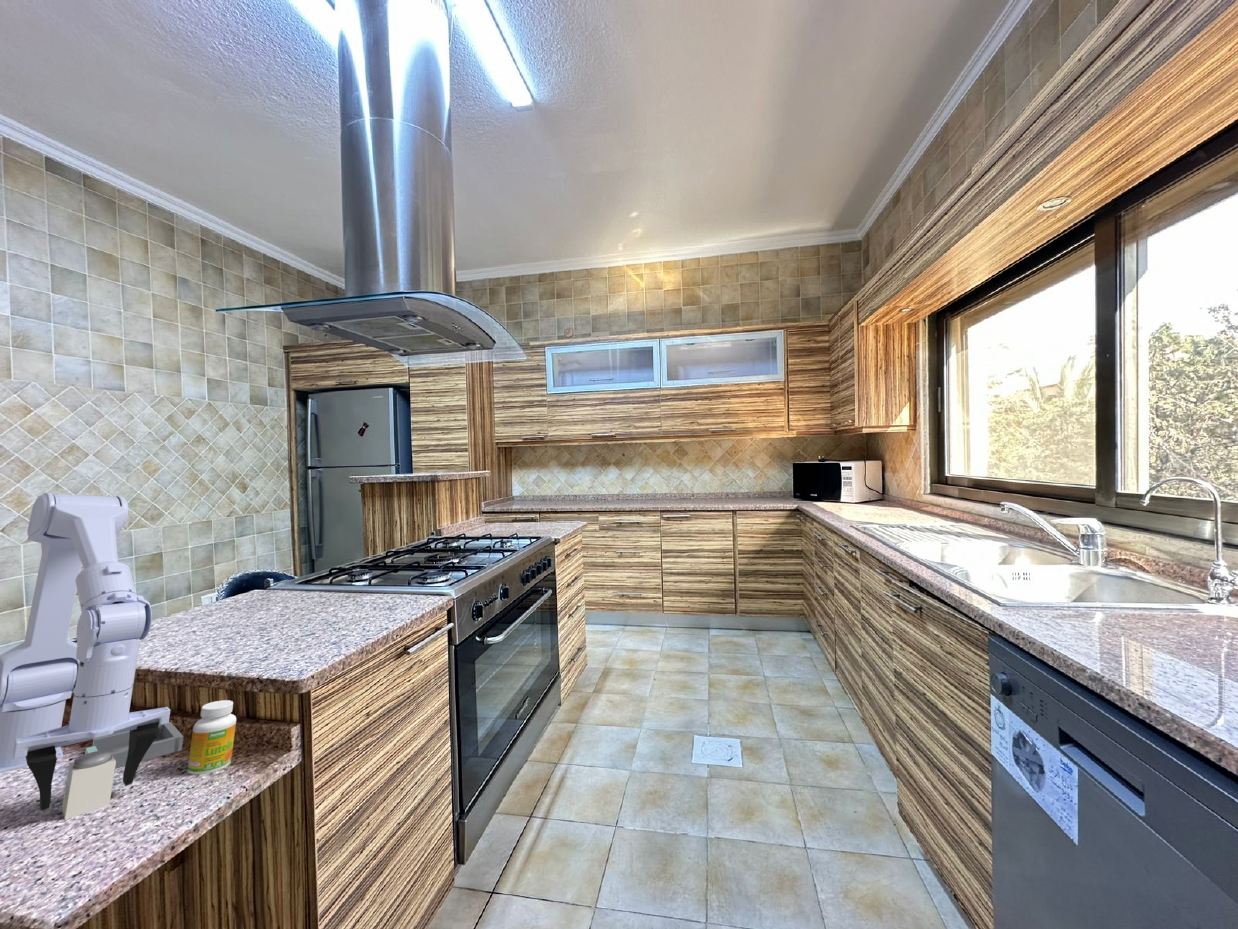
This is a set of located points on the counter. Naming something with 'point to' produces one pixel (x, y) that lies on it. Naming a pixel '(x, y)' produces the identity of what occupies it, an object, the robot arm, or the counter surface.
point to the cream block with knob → (88, 783)
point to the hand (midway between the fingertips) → (87, 794)
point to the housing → (162, 745)
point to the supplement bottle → (212, 738)
